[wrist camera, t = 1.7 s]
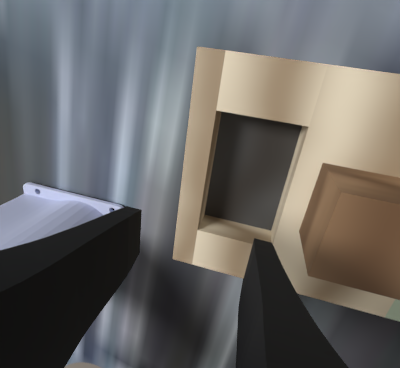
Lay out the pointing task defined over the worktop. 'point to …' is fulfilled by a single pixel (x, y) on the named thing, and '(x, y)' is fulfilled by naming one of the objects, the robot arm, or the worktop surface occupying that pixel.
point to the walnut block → (354, 230)
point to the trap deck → (278, 159)
